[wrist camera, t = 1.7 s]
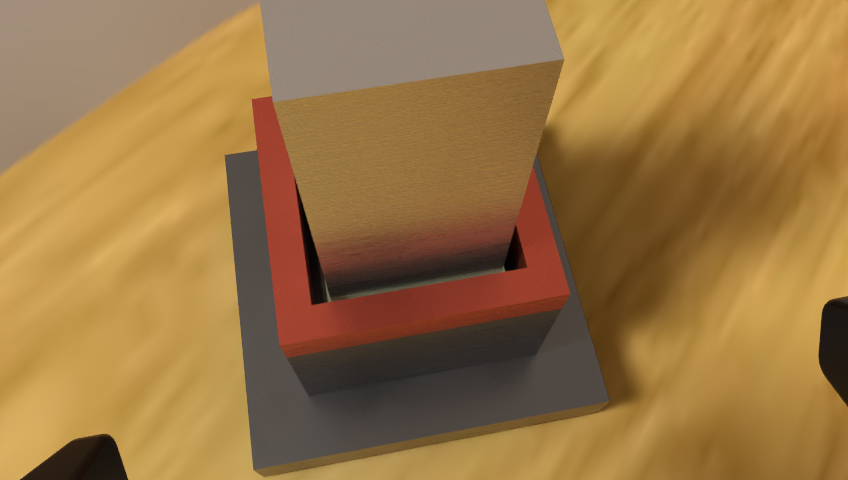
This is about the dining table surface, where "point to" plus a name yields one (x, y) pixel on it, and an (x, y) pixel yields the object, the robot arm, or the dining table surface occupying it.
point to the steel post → (410, 130)
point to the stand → (395, 333)
